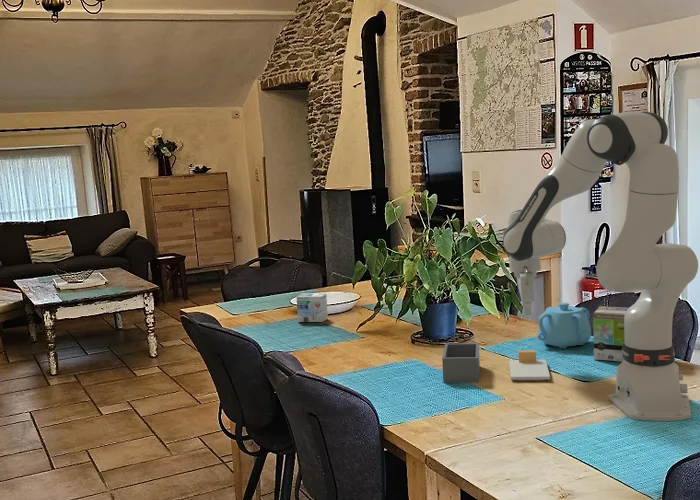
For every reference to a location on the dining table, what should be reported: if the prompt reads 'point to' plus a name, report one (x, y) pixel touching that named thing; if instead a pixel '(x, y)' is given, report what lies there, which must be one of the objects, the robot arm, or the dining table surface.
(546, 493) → the dining table surface
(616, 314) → the tea box
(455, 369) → the tub
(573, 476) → the dining table surface
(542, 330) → the decorative pot
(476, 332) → the dining table surface
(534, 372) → the lid
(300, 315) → the light bulb box
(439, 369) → the dining table surface
